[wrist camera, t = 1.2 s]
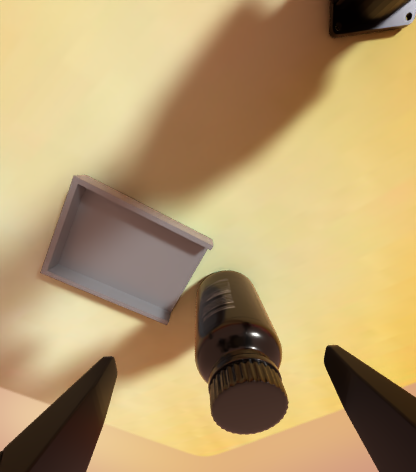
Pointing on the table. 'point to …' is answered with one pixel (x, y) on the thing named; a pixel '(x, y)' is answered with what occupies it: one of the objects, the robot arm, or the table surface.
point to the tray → (122, 250)
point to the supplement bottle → (238, 355)
